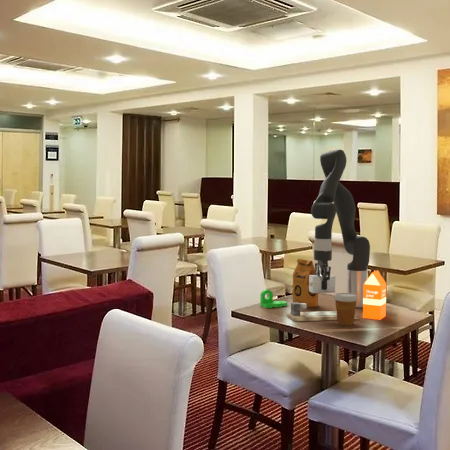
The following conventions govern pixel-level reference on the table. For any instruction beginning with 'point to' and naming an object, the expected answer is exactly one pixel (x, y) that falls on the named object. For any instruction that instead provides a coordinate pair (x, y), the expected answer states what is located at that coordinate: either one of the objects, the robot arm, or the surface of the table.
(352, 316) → the disposable coffee cup
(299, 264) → the coffee package
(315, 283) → the block
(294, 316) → the coupling stand
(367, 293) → the orange juice
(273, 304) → the mechanical part
